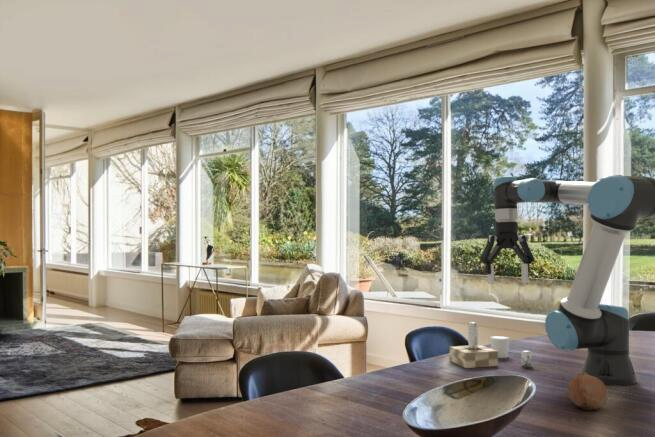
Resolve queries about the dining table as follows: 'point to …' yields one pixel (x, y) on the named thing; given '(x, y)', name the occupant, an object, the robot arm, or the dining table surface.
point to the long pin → (473, 335)
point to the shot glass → (500, 345)
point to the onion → (587, 391)
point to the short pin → (526, 358)
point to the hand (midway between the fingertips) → (508, 283)
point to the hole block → (473, 356)
